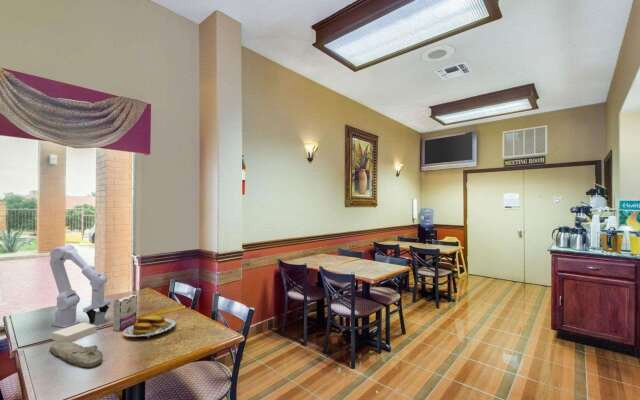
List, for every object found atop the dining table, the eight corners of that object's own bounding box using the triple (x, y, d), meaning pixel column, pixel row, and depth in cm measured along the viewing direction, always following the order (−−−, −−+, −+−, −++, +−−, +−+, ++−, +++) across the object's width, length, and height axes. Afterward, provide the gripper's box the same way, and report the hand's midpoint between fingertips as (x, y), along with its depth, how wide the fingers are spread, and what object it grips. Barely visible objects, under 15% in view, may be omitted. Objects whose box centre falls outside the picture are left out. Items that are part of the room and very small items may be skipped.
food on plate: (122, 346, 144) (123, 332, 144) (121, 328, 165) (122, 316, 165) (179, 334, 159) (180, 322, 159) (172, 319, 179) (172, 308, 179)
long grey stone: (68, 346, 145) (42, 356, 136) (68, 335, 145) (42, 344, 136) (110, 360, 130) (84, 372, 121) (110, 348, 130) (83, 359, 121)
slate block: (89, 324, 167) (89, 314, 167) (97, 321, 172) (98, 311, 172) (95, 326, 165) (96, 315, 166) (104, 322, 170) (104, 312, 170)
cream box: (51, 340, 148) (52, 332, 148) (82, 329, 161) (82, 322, 161) (66, 344, 144) (66, 336, 145) (96, 333, 158) (96, 325, 158)
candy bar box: (129, 322, 171) (130, 294, 172) (136, 323, 170) (137, 295, 171) (111, 330, 160) (113, 300, 161) (119, 331, 159) (121, 300, 160)
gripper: (90, 301, 161) (89, 326, 161) (115, 294, 175) (114, 317, 174) (80, 300, 163) (79, 325, 163) (106, 292, 177) (105, 315, 176)
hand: (96, 320), depth 169 cm, fingers closed on slate block, 5 cm apart
